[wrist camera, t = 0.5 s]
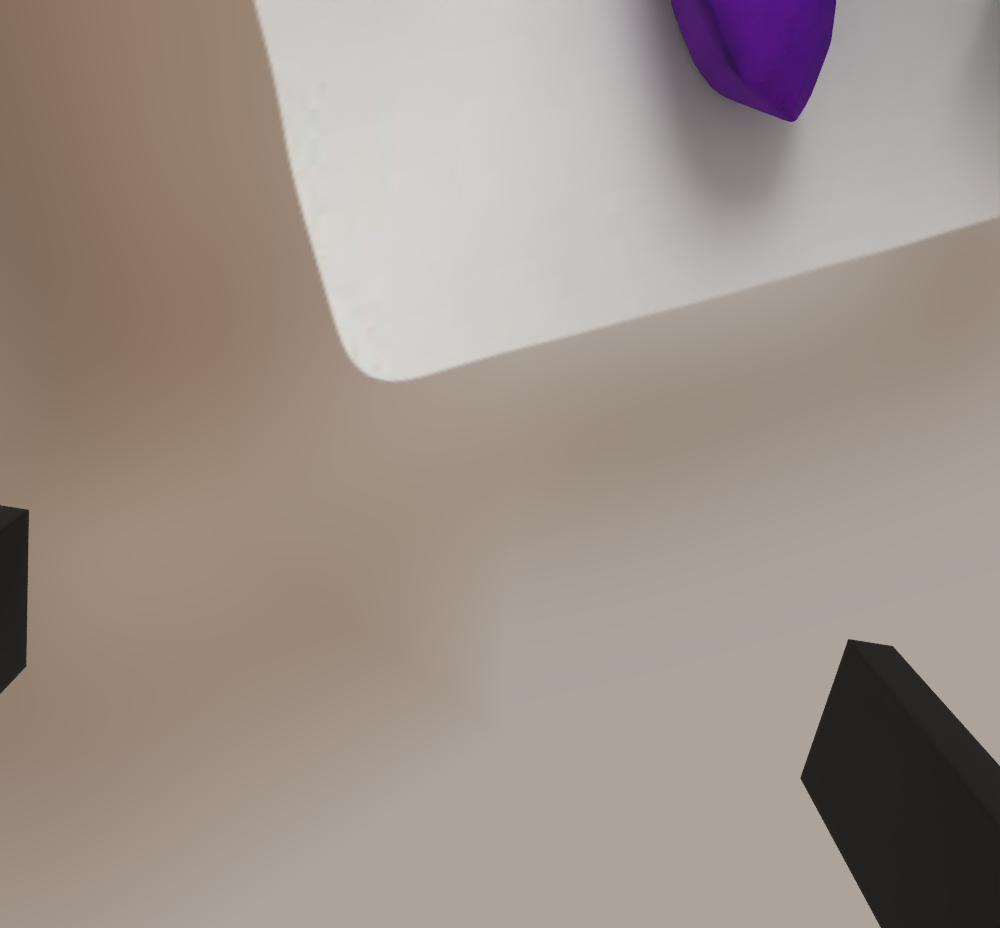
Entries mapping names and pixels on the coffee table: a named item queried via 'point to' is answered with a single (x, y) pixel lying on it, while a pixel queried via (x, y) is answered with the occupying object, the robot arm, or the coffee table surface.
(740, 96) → the purple long tapered piece
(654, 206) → the coffee table surface
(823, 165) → the coffee table surface
